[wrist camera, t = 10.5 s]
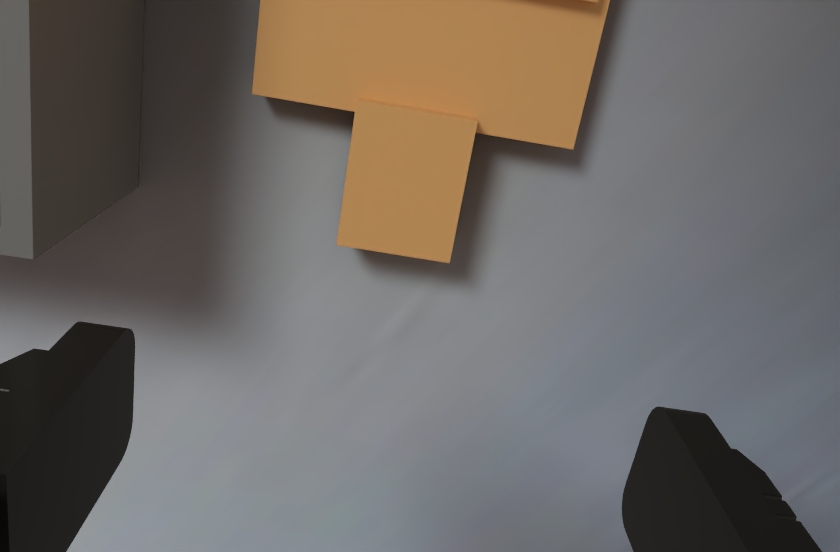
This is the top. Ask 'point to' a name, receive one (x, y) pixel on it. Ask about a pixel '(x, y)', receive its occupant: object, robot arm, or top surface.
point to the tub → (66, 115)
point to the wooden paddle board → (427, 96)
